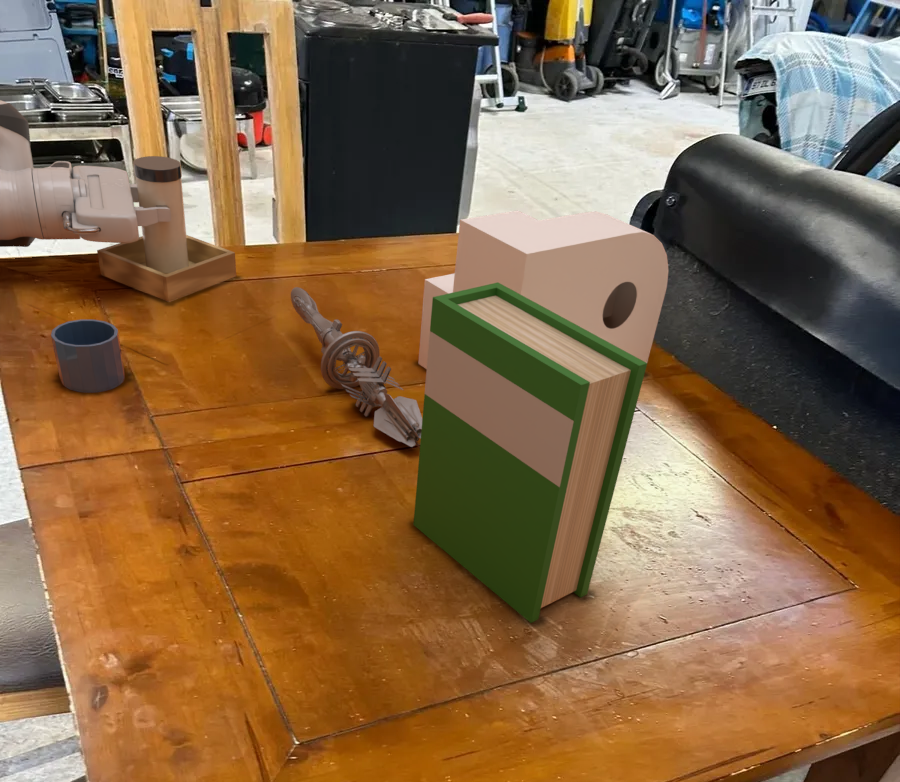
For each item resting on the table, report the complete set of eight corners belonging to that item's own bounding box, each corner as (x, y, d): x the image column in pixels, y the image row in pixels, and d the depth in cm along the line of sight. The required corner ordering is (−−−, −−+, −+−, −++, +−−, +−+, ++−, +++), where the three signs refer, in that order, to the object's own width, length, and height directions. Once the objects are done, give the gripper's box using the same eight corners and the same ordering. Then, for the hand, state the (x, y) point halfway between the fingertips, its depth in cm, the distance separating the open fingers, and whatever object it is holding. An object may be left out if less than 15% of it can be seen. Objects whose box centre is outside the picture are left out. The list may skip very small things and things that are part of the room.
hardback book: (586, 596, 84) (647, 363, 69) (530, 624, 81) (581, 385, 65) (468, 504, 94) (497, 282, 78) (413, 526, 90) (432, 297, 75)
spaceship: (327, 270, 118) (276, 255, 113) (461, 417, 99) (407, 406, 94) (305, 323, 122) (254, 310, 117) (429, 474, 103) (376, 467, 98)
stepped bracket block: (558, 328, 131) (585, 181, 118) (643, 376, 122) (683, 223, 108) (418, 364, 118) (430, 204, 104) (501, 422, 108) (526, 253, 95)
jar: (136, 264, 129) (123, 161, 120) (168, 254, 133) (157, 153, 124) (167, 277, 127) (156, 172, 117) (198, 265, 131) (190, 164, 122)
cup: (48, 380, 105) (37, 332, 101) (96, 360, 110) (88, 313, 106) (90, 400, 103) (80, 352, 99) (137, 379, 108) (131, 332, 104)
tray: (101, 278, 129) (96, 250, 126) (170, 254, 138) (168, 228, 135) (169, 306, 124) (166, 277, 121) (236, 279, 133) (235, 252, 130)
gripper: (58, 206, 111) (173, 206, 115) (56, 157, 125) (158, 158, 129) (67, 256, 115) (177, 254, 119) (64, 203, 129) (163, 203, 133)
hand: (167, 204), depth 124 cm, fingers closed on jar, 6 cm apart
